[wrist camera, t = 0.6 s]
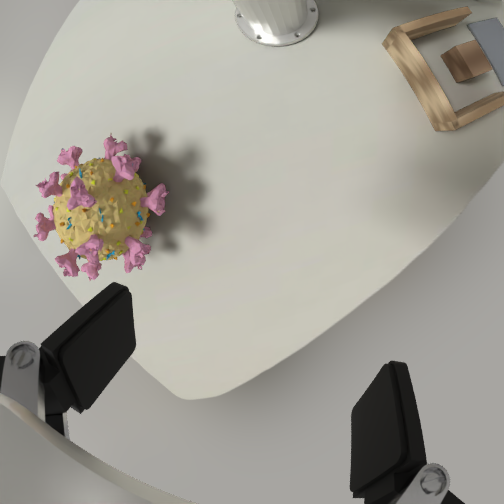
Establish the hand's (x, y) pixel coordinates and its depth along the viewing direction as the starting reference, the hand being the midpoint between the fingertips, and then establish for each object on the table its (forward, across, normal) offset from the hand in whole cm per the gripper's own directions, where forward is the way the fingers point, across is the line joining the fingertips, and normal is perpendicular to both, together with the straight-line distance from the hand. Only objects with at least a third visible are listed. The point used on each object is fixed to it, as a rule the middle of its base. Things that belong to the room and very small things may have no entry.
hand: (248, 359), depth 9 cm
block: (+35, -21, -28) cm, 49 cm away
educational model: (+35, +29, +7) cm, 46 cm away
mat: (+35, -30, -37) cm, 59 cm away
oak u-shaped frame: (+35, -19, -26) cm, 47 cm away
